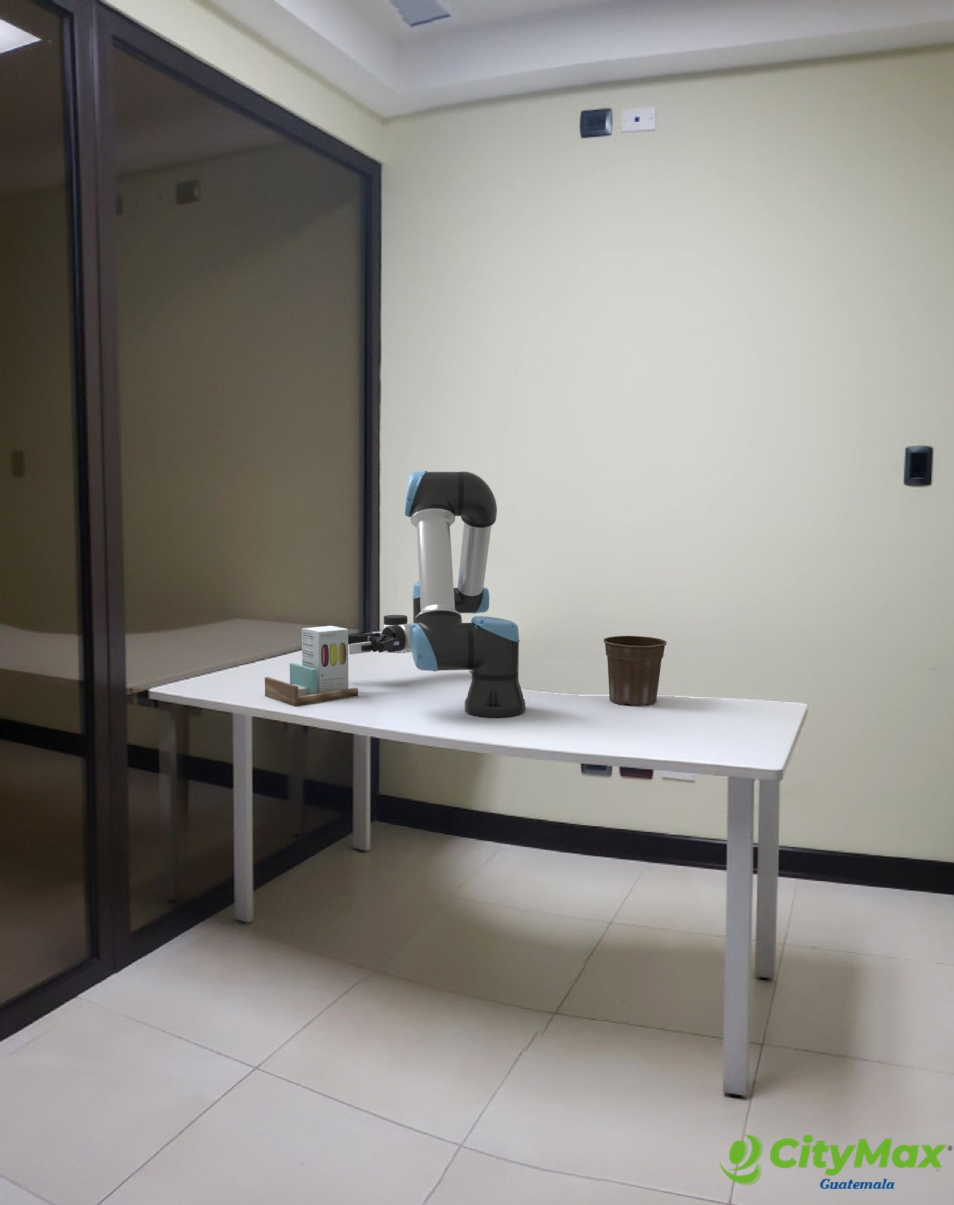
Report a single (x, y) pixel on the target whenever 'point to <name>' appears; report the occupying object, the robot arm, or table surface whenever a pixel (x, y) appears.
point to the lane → (290, 696)
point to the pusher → (303, 679)
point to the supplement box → (327, 656)
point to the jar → (394, 621)
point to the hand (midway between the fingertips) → (335, 646)
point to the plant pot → (634, 668)
